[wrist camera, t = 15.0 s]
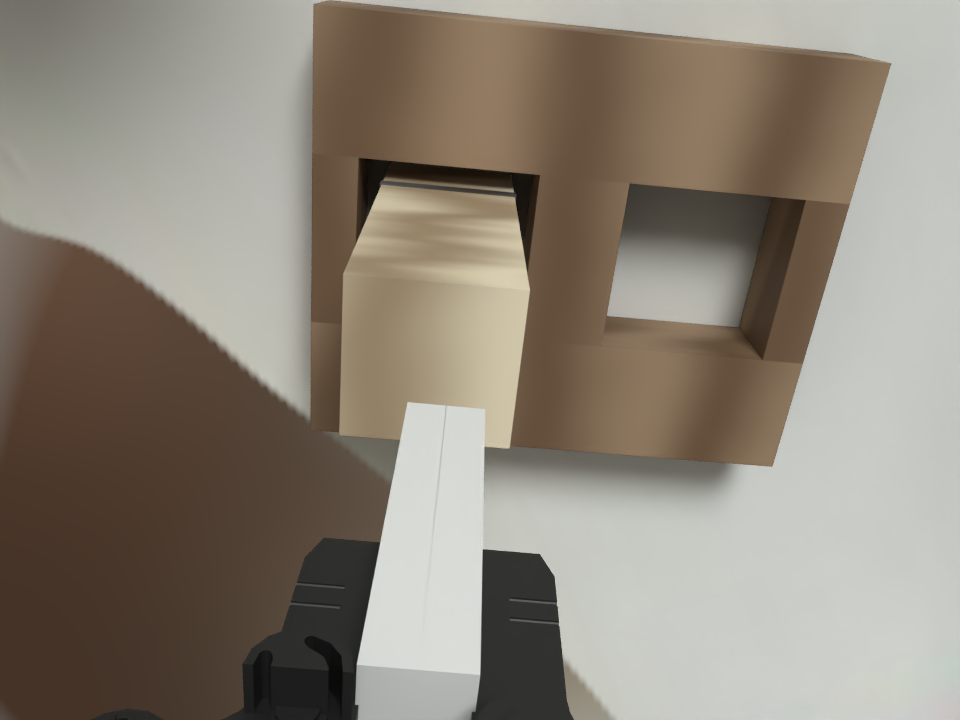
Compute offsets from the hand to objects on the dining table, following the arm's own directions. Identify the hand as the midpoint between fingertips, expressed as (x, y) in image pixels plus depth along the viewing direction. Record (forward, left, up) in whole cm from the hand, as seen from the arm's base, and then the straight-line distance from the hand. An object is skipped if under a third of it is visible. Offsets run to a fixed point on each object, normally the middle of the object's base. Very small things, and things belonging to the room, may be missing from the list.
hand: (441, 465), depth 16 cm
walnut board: (-4, 0, -17) cm, 17 cm away
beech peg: (0, 0, -17) cm, 17 cm away
